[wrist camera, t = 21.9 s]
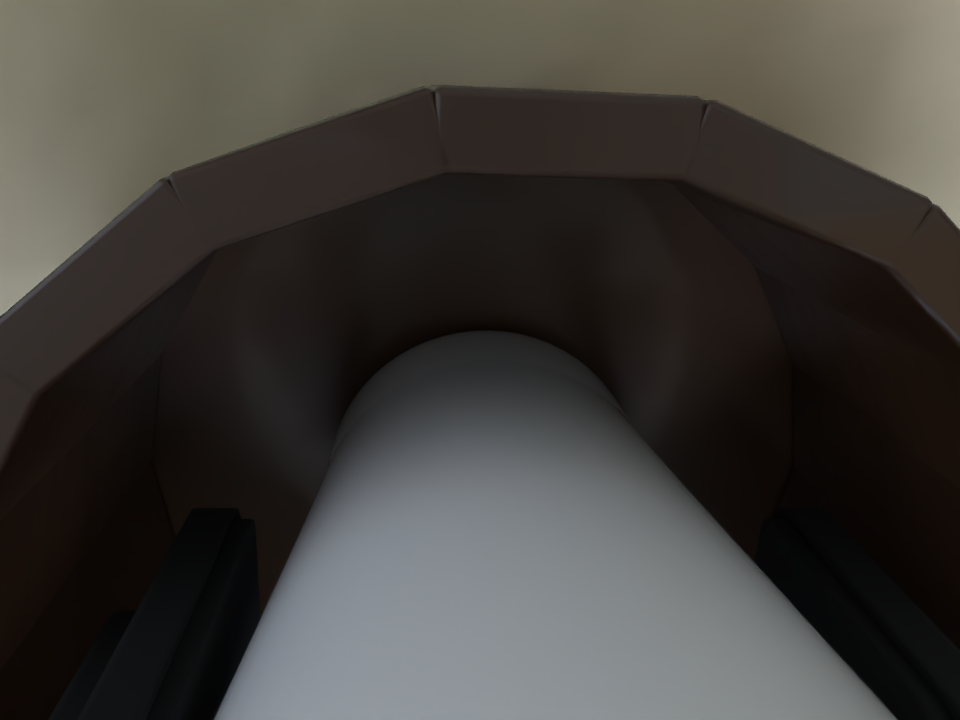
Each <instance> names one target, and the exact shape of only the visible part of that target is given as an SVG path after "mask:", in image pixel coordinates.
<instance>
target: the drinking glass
mask: <svg viewBox="0 0 960 720" xmlns="http://www.w3.org/2000/svg"><path fill="white" fill-rule="evenodd" d="M213 720H898V719H897V718H896V717H895V715H894V714H893V713H892V712H891V711H890V710H889V709H888V708H887V707H886V706H885V704H884V703H883V702H882V701H881V700H880V699H879V698H878V697H877V696H876V695H875V694H874V692H873V691H872V690H871V689H870V688H869V687H868V686H867V685H866V684H865V683H864V681H863V680H862V679H861V678H860V677H859V676H858V675H857V674H856V673H855V672H854V670H853V669H852V668H851V667H850V666H849V665H848V664H847V663H846V662H845V661H844V660H843V658H842V657H841V656H840V655H839V654H838V653H837V652H836V651H835V650H834V649H833V648H832V646H831V645H830V644H829V643H828V642H827V641H826V640H825V639H824V638H823V637H822V635H821V634H820V633H819V632H818V631H817V630H816V629H815V628H814V627H813V626H812V625H811V623H810V622H809V621H808V620H807V619H806V618H805V617H804V616H803V615H802V614H801V612H800V611H799V610H798V609H797V608H796V607H795V606H794V605H793V604H792V603H791V602H790V600H789V599H788V598H787V597H786V596H785V595H784V594H783V593H782V592H781V591H780V590H779V588H778V587H777V586H776V585H775V584H774V583H773V582H772V581H771V580H770V579H769V577H768V576H767V575H766V574H765V573H764V572H763V571H762V570H761V569H760V568H759V566H758V565H757V564H756V563H755V562H754V561H753V560H752V559H751V558H750V556H749V555H748V554H747V553H746V552H745V551H744V550H743V549H742V548H741V547H740V545H739V544H738V543H737V542H736V541H735V540H734V539H733V538H732V537H731V535H730V534H729V533H728V532H727V531H726V530H725V529H724V528H723V527H722V526H721V524H720V523H719V522H718V521H717V520H716V519H715V518H714V517H713V516H712V514H711V513H710V512H709V511H708V510H707V509H706V508H705V507H704V506H703V505H702V503H701V502H700V501H699V500H698V499H697V498H696V497H695V496H694V494H693V493H692V492H691V491H690V490H689V489H688V488H687V487H686V486H685V484H684V483H683V482H682V481H681V480H680V479H679V478H678V477H677V475H676V474H675V473H674V472H673V471H672V470H671V469H670V468H669V467H668V465H667V464H666V463H665V462H664V461H663V460H662V459H661V457H660V456H659V455H658V454H657V453H656V452H655V451H654V450H653V448H652V447H651V446H650V445H649V444H648V443H647V442H646V440H645V439H644V438H643V437H642V436H641V435H640V434H639V432H638V431H637V430H636V429H635V428H634V427H633V425H632V423H631V422H630V420H629V419H628V417H627V415H626V414H625V412H624V411H623V409H622V408H621V406H620V405H619V403H618V402H617V400H616V399H615V397H614V396H613V394H612V393H611V391H610V390H609V389H608V388H607V386H606V385H605V384H604V383H603V382H602V381H601V379H600V378H599V377H598V376H597V375H596V374H595V373H594V372H592V371H591V370H590V369H589V368H588V367H587V366H586V365H585V364H583V363H582V362H581V361H579V360H578V359H577V358H575V357H574V356H572V355H570V354H569V353H567V352H566V351H564V350H562V349H561V348H558V347H556V346H554V345H552V344H550V343H548V342H545V341H543V340H540V339H537V338H534V337H531V336H527V335H523V334H519V333H513V332H507V331H495V330H475V331H465V332H458V333H453V334H449V335H444V336H441V337H437V338H434V339H431V340H428V341H426V342H424V343H421V344H419V345H417V346H414V347H412V348H411V349H409V350H407V351H405V352H403V353H401V354H400V355H398V356H397V357H395V358H394V359H392V360H391V361H389V362H388V363H387V364H385V365H384V366H383V367H382V368H381V369H380V370H378V371H377V372H376V373H375V374H374V375H373V376H372V377H371V378H370V379H369V380H368V381H367V382H366V383H365V384H364V386H363V387H362V388H361V389H360V391H359V392H358V393H357V394H356V396H355V397H354V399H353V400H352V402H351V403H350V405H349V406H348V408H347V410H346V412H345V414H344V416H343V418H342V420H341V422H340V424H339V426H338V429H337V432H336V434H335V437H334V440H333V443H332V447H331V450H330V454H329V458H328V462H327V466H326V470H325V473H324V476H323V478H322V480H321V483H320V485H319V487H318V490H317V492H316V494H315V497H314V499H313V501H312V503H311V506H310V508H309V510H308V512H307V515H306V517H305V519H304V521H303V524H302V526H301V528H300V530H299V533H298V535H297V537H296V539H295V542H294V544H293V546H292V548H291V550H290V553H289V555H288V557H287V559H286V561H285V564H284V566H283V568H282V570H281V573H280V575H279V577H278V579H277V581H276V584H275V586H274V588H273V590H272V592H271V595H270V597H269V599H268V601H267V603H266V606H265V608H264V610H263V612H262V614H261V616H260V619H259V621H258V623H257V625H256V627H255V630H254V632H253V634H252V636H251V638H250V640H249V643H248V645H247V647H246V649H245V651H244V654H243V656H242V658H241V660H240V662H239V665H238V667H237V669H236V671H235V673H234V675H233V678H232V680H231V682H230V684H229V686H228V688H227V690H226V693H225V695H224V697H223V699H222V701H221V703H220V706H219V708H218V710H217V712H216V714H215V716H214V719H213Z"/></svg>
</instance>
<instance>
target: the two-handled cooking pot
mask: <svg viewBox="0 0 960 720" xmlns="http://www.w3.org/2000/svg"><path fill="white" fill-rule="evenodd" d="M475 330H495V331H507V332H513V333H519V334H523V335H527V336H531V337H534V338H537V339H540V340H543V341H545V342H548V343H550V344H552V345H554V346H556V347H558V348H561V349H562V350H564V351H566V352H567V353H569V354H570V355H572V356H574V357H575V358H577V359H578V360H579V361H581V362H582V363H583V364H585V365H586V366H587V367H588V368H589V369H590V370H591V371H592V372H594V373H595V374H596V375H597V376H598V377H599V378H600V379H601V381H602V382H603V383H604V384H605V385H606V386H607V388H608V389H609V390H610V391H611V393H612V394H613V396H614V397H615V399H616V400H617V402H618V403H619V405H620V406H621V408H622V409H623V411H624V412H625V414H626V415H627V417H628V419H629V420H630V422H631V423H632V425H633V427H634V428H635V429H636V430H637V431H638V432H639V434H640V435H641V436H642V437H643V438H644V439H645V440H646V442H647V443H648V444H649V445H650V446H651V447H652V448H653V450H654V451H655V452H656V453H657V454H658V455H659V456H660V457H661V459H662V460H663V461H664V462H665V463H666V464H667V465H668V467H669V468H670V469H671V470H672V471H673V472H674V473H675V474H676V475H677V477H678V478H679V479H680V480H681V481H682V482H683V483H684V484H685V486H686V487H687V488H688V489H689V490H690V491H691V492H692V493H693V494H694V496H695V497H696V498H697V499H698V500H699V501H700V502H701V503H702V505H703V506H704V507H705V508H706V509H707V510H708V511H709V512H710V513H711V514H712V516H713V517H714V518H715V519H716V520H717V521H718V522H719V523H720V524H721V526H722V527H723V528H724V529H725V530H726V531H727V532H728V533H729V534H730V535H731V537H732V538H733V539H734V540H735V541H736V542H737V543H738V544H739V545H740V547H741V548H742V549H743V550H744V551H745V552H746V553H747V554H748V555H749V556H750V558H751V559H752V560H753V561H754V562H755V558H756V552H757V547H758V541H759V535H760V529H761V526H762V523H763V521H764V520H765V519H767V518H773V516H774V514H775V512H776V511H777V510H778V509H779V508H823V509H824V510H826V511H827V512H828V513H829V514H830V515H831V516H832V517H833V518H834V519H835V520H836V521H837V522H838V523H839V524H840V525H841V527H842V528H843V529H844V530H845V531H846V532H847V533H848V534H849V535H850V536H851V537H852V538H853V539H854V540H855V541H856V542H857V543H858V544H859V545H860V546H861V547H862V548H863V550H864V551H865V552H866V553H867V554H868V555H869V556H870V557H871V558H872V559H873V560H874V561H875V562H876V563H877V564H878V565H879V566H880V567H881V568H882V569H883V570H884V571H885V573H886V574H887V575H888V576H889V577H890V578H891V579H892V580H893V581H894V582H895V583H896V584H897V585H898V586H899V587H900V588H901V589H902V590H903V591H904V592H905V593H906V594H907V596H908V597H909V598H910V599H911V600H912V601H913V602H914V603H915V604H916V605H917V606H918V607H919V608H920V609H921V610H922V611H923V612H924V613H925V614H926V615H927V616H928V617H929V619H930V620H931V621H932V622H933V623H934V624H935V625H936V626H937V627H938V628H939V629H940V630H941V631H942V632H943V633H944V634H945V635H946V636H947V637H948V638H949V639H950V640H951V642H952V643H953V644H954V645H955V646H956V647H957V648H958V649H959V650H960V230H959V228H958V227H957V226H956V225H955V224H954V223H953V222H952V220H951V219H950V218H949V217H948V216H947V215H946V214H945V212H944V211H943V210H942V209H941V208H940V207H939V206H937V205H935V204H932V202H931V201H930V200H929V198H928V197H926V196H924V195H922V194H920V193H917V192H915V191H913V190H911V189H909V188H906V187H904V186H902V185H900V184H898V183H896V182H893V181H891V180H889V179H887V178H885V177H882V176H880V175H878V174H876V173H874V172H872V171H869V170H867V169H865V168H863V167H861V166H858V165H856V164H854V163H852V162H850V161H848V160H845V159H843V158H841V157H839V156H837V155H834V154H832V153H830V152H828V151H826V150H824V149H821V148H819V147H817V146H815V145H813V144H810V143H808V142H806V141H804V140H802V139H800V138H797V137H795V136H793V135H791V134H789V133H786V132H784V131H782V130H780V129H778V128H776V127H773V126H771V125H769V124H767V123H765V122H762V121H760V120H758V119H756V118H754V117H752V116H749V115H747V114H745V113H743V112H741V111H738V110H736V109H734V108H732V107H730V106H728V105H725V104H723V103H721V102H719V101H717V100H704V99H702V98H700V97H698V96H682V95H658V94H635V93H612V92H588V91H565V90H542V89H519V88H495V87H472V86H449V85H431V86H429V87H424V86H422V87H419V88H416V89H413V90H410V91H407V92H404V93H401V94H398V95H395V96H392V97H390V98H387V99H384V100H381V101H378V102H375V103H372V104H369V105H366V106H363V107H360V108H357V109H354V110H351V111H348V112H345V113H342V114H339V115H336V116H333V117H330V118H327V119H325V120H322V121H319V122H316V123H313V124H310V125H307V126H304V127H301V128H298V129H295V130H292V131H289V132H286V133H283V134H281V135H278V136H275V137H272V138H269V139H266V140H264V141H261V142H258V143H255V144H252V145H249V146H246V147H244V148H241V149H238V150H235V151H232V152H229V153H227V154H224V155H221V156H218V157H215V158H212V159H210V160H207V161H204V162H201V163H198V164H195V165H192V166H190V167H187V168H184V169H181V170H178V171H175V172H173V173H172V174H171V175H170V176H168V177H165V178H162V179H160V180H159V181H158V182H156V183H155V184H154V185H153V186H152V187H151V188H149V189H148V190H147V191H146V192H145V193H144V194H142V195H141V196H140V197H139V198H138V199H137V200H136V201H134V202H133V203H132V204H131V205H130V206H129V207H127V208H126V209H125V210H124V211H123V212H122V213H120V214H119V215H118V216H117V217H116V218H115V219H113V220H112V221H111V222H110V223H109V224H108V225H106V226H105V227H104V228H103V229H102V230H101V231H99V232H98V233H97V234H96V235H95V236H94V237H92V238H91V239H90V240H89V241H88V242H87V243H86V244H84V245H83V246H82V247H81V248H80V249H79V250H77V251H76V252H75V253H74V254H73V255H72V256H70V257H69V258H68V259H67V260H66V261H65V262H63V263H62V264H61V265H60V266H59V267H58V268H56V269H55V270H54V271H53V272H52V273H51V274H49V275H48V276H47V277H46V278H45V279H44V280H42V281H41V282H40V283H39V284H38V285H37V286H35V287H34V288H33V289H32V290H31V291H30V292H29V293H27V294H26V295H25V296H24V297H23V298H22V299H20V300H19V301H18V302H17V303H16V304H15V305H13V306H12V307H11V308H10V309H9V310H8V311H6V312H5V313H4V314H3V315H2V316H1V317H0V720H48V719H49V718H50V716H51V714H52V712H53V711H54V709H55V707H56V706H57V704H58V702H59V701H60V699H61V697H62V695H63V694H64V692H65V690H66V689H67V687H68V685H69V684H70V682H71V680H72V678H73V677H74V675H75V673H76V672H77V670H78V668H79V667H80V665H81V663H82V661H83V660H84V658H85V656H86V655H87V653H88V651H89V650H90V648H91V646H92V644H93V643H94V641H95V639H96V638H97V636H98V634H99V633H100V631H101V629H102V627H103V626H104V624H105V622H106V621H107V620H108V618H109V617H110V616H111V614H112V613H114V612H116V611H121V610H137V609H138V607H139V605H140V603H141V601H142V599H143V598H144V596H145V594H146V592H147V590H148V588H149V587H150V585H151V583H152V581H153V579H154V577H155V576H156V574H157V572H158V570H159V568H160V566H161V564H162V563H163V561H164V559H165V557H166V555H167V553H168V552H169V550H170V548H171V546H172V544H173V542H174V541H175V539H176V537H177V535H178V533H179V531H180V529H181V528H182V526H183V524H184V522H185V520H186V518H187V517H188V515H189V513H190V511H191V510H192V509H193V508H238V510H239V512H240V516H241V519H253V520H254V522H255V528H256V543H257V561H258V578H259V595H260V612H261V614H262V612H263V610H264V608H265V606H266V603H267V601H268V599H269V597H270V595H271V592H272V590H273V588H274V586H275V584H276V581H277V579H278V577H279V575H280V573H281V570H282V568H283V566H284V564H285V561H286V559H287V557H288V555H289V553H290V550H291V548H292V546H293V544H294V542H295V539H296V537H297V535H298V533H299V530H300V528H301V526H302V524H303V521H304V519H305V517H306V515H307V512H308V510H309V508H310V506H311V503H312V501H313V499H314V497H315V494H316V492H317V490H318V487H319V485H320V483H321V480H322V478H323V476H324V473H325V470H326V466H327V462H328V458H329V454H330V450H331V447H332V443H333V440H334V437H335V434H336V432H337V429H338V426H339V424H340V422H341V420H342V418H343V416H344V414H345V412H346V410H347V408H348V406H349V405H350V403H351V402H352V400H353V399H354V397H355V396H356V394H357V393H358V392H359V391H360V389H361V388H362V387H363V386H364V384H365V383H366V382H367V381H368V380H369V379H370V378H371V377H372V376H373V375H374V374H375V373H376V372H377V371H378V370H380V369H381V368H382V367H383V366H384V365H385V364H387V363H388V362H389V361H391V360H392V359H394V358H395V357H397V356H398V355H400V354H401V353H403V352H405V351H407V350H409V349H411V348H412V347H414V346H417V345H419V344H421V343H424V342H426V341H428V340H431V339H434V338H437V337H441V336H444V335H449V334H453V333H458V332H465V331H475Z"/></svg>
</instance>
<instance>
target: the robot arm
mask: <svg viewBox="0 0 960 720" xmlns="http://www.w3.org/2000/svg"><path fill="white" fill-rule="evenodd" d="M755 563H756V564H757V565H758V566H759V568H760V569H761V570H762V571H763V572H764V573H765V574H766V575H767V576H768V577H769V579H770V580H771V581H772V582H773V583H774V584H775V585H776V586H777V587H778V588H779V590H780V591H781V592H782V593H783V594H784V595H785V596H786V597H787V598H788V599H789V600H790V602H791V603H792V604H793V605H794V606H795V607H796V608H797V609H798V610H799V611H800V612H801V614H802V615H803V616H804V617H805V618H806V619H807V620H808V621H809V622H810V623H811V625H812V626H813V627H814V628H815V629H816V630H817V631H818V632H819V633H820V634H821V635H822V637H823V638H824V639H825V640H826V641H827V642H828V643H829V644H830V645H831V646H832V648H833V649H834V650H835V651H836V652H837V653H838V654H839V655H840V656H841V657H842V658H843V660H844V661H845V662H846V663H847V664H848V665H849V666H850V667H851V668H852V669H853V670H854V672H855V673H856V674H857V675H858V676H859V677H860V678H861V679H862V680H863V681H864V683H865V684H866V685H867V686H868V687H869V688H870V689H871V690H872V691H873V692H874V694H875V695H876V696H877V697H878V698H879V699H880V700H881V701H882V702H883V703H884V704H885V706H886V707H887V708H888V709H889V710H890V711H891V712H892V713H893V714H894V715H895V717H896V718H897V719H898V720H960V650H959V649H958V648H957V647H956V646H955V645H954V644H953V643H952V642H951V640H950V639H949V638H948V637H947V636H946V635H945V634H944V633H943V632H942V631H941V630H940V629H939V628H938V627H937V626H936V625H935V624H934V623H933V622H932V621H931V620H930V619H929V617H928V616H927V615H926V614H925V613H924V612H923V611H922V610H921V609H920V608H919V607H918V606H917V605H916V604H915V603H914V602H913V601H912V600H911V599H910V598H909V597H908V596H907V594H906V593H905V592H904V591H903V590H902V589H901V588H900V587H899V586H898V585H897V584H896V583H895V582H894V581H893V580H892V579H891V578H890V577H889V576H888V575H887V574H886V573H885V571H884V570H883V569H882V568H881V567H880V566H879V565H878V564H877V563H876V562H875V561H874V560H873V559H872V558H871V557H870V556H869V555H868V554H867V553H866V552H865V551H864V550H863V548H862V547H861V546H860V545H859V544H858V543H857V542H856V541H855V540H854V539H853V538H852V537H851V536H850V535H849V534H848V533H847V532H846V531H845V530H844V529H843V528H842V527H841V525H840V524H839V523H838V522H837V521H836V520H835V519H834V518H833V517H832V516H831V515H830V514H829V513H828V512H827V511H826V510H824V509H823V508H779V509H778V510H777V511H776V512H775V514H774V516H773V518H767V519H765V520H764V521H763V523H762V526H761V529H760V535H759V541H758V547H757V552H756V558H755ZM260 616H261V612H260V595H259V578H258V561H257V543H256V528H255V522H254V520H253V519H241V516H240V512H239V510H238V508H193V509H192V510H191V511H190V513H189V515H188V517H187V518H186V520H185V522H184V524H183V526H182V528H181V529H180V531H179V533H178V535H177V537H176V539H175V541H174V542H173V544H172V546H171V548H170V550H169V552H168V553H167V555H166V557H165V559H164V561H163V563H162V564H161V566H160V568H159V570H158V572H157V574H156V576H155V577H154V579H153V581H152V583H151V585H150V587H149V588H148V590H147V592H146V594H145V596H144V598H143V599H142V601H141V603H140V605H139V607H138V609H137V610H121V611H116V612H114V613H112V614H111V616H110V617H109V618H108V620H107V621H106V622H105V624H104V626H103V627H102V629H101V631H100V633H99V634H98V636H97V638H96V639H95V641H94V643H93V644H92V646H91V648H90V650H89V651H88V653H87V655H86V656H85V658H84V660H83V661H82V663H81V665H80V667H79V668H78V670H77V672H76V673H75V675H74V677H73V678H72V680H71V682H70V684H69V685H68V687H67V689H66V690H65V692H64V694H63V695H62V697H61V699H60V701H59V702H58V704H57V706H56V707H55V709H54V711H53V712H52V714H51V716H50V718H49V719H48V720H213V719H214V716H215V714H216V712H217V710H218V708H219V706H220V703H221V701H222V699H223V697H224V695H225V693H226V690H227V688H228V686H229V684H230V682H231V680H232V678H233V675H234V673H235V671H236V669H237V667H238V665H239V662H240V660H241V658H242V656H243V654H244V651H245V649H246V647H247V645H248V643H249V640H250V638H251V636H252V634H253V632H254V630H255V627H256V625H257V623H258V621H259V619H260Z"/></svg>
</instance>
